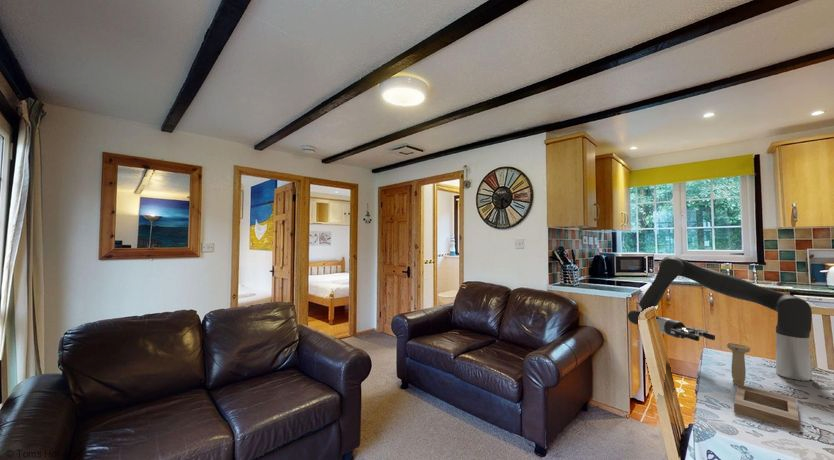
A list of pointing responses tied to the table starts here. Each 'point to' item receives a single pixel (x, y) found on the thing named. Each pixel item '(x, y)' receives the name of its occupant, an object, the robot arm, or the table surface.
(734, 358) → the handle
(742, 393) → the wooden rectangular frame
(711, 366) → the table surface
